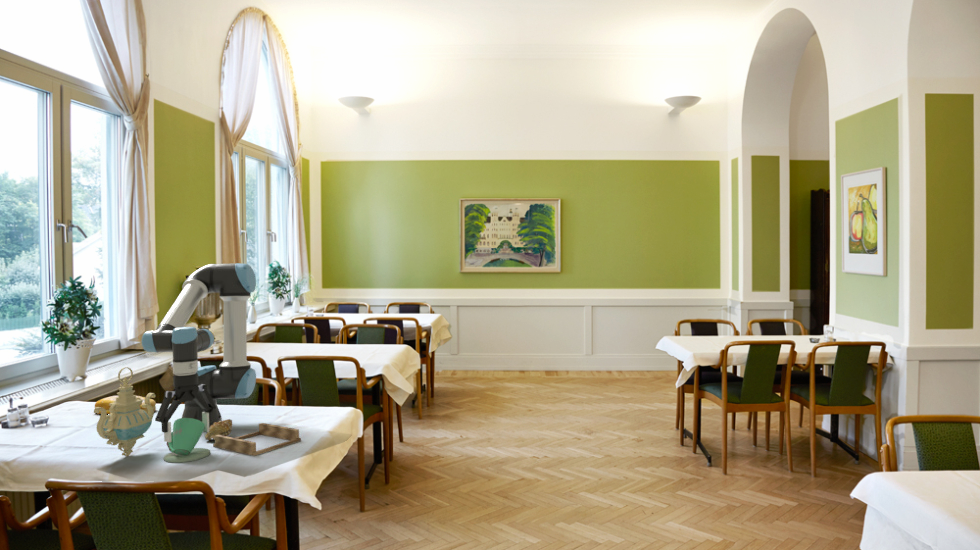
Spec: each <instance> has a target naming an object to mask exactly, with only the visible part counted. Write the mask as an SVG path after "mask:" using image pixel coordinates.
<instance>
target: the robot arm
mask: <svg viewBox="0 0 980 550" xmlns="http://www.w3.org/2000/svg"><path fill="white" fill-rule="evenodd" d="M254 271H255V270H253V268H252V266H251V265H250V264H248V263H239V262H238V263H237V262H236V263H209V264H206V265H203V266H201V267H199V268H198V269H196V270H195V271H193V272H192V273H190V275H188V276H187V278H186V279H185V280H184V282H183V284H182V286H181V288H182V290H181V291H180V292H179V293H178V294H179V295H178V296H177V298H176V299H175V300H174V302H173V304H172V305H171V306H170V308H169V309H168V311H167V313H166V314H165V316H164V317H163V318H162V320H161V321H160V323H159V325H158V326H157V327H156V329H155V330H154V329H152V330H147V331H145V332H144V333H143V334H142V336H141V347H142V349H143V350H144V351H145V352H148V353H172V374H173V376H172V379H173V380H172V383H173V384H172V385H173V391H172V390H171V391H170V390H165V391H164V394H163V399H162V402H161V405H160V406H159V409H158V411H157V414H156V416H155V422H158V423H161V432H162V433H164V434H163V441H164V442H166V443H167V442H171V433H172V422H171V421H170V420H171V418H172V416H173V415H174V414H175V412H176V411H177V409H178V408H179V406H180V405H181V404H182V403H184V409H183V412H182V414H181V418H193V419H197V420H199V421H201V422H203V423H204V424H205V428H204V431H203V432H206V433H208V432H209V429H210V426H211V425H213V424H214V423H215V422H219V421H223V417H222V415H221V412H220V410H219V407H218V404H217V403H218V402H217V401H218V400H220V399H222V400H223V399H236V400H239V399H247V398H249V397H250V396H251V395H252V393H253V391H254V389H255V386H256V383H257V372H256V370H255V369H254V368H252V367H251V364H252V363H251V362H250V361H248V360H247V353H248V352H247V347H248V346H247V345H248V344H247V330H248V329H247V328H248V327H247V301H248V300H249V299H250V298H251V294H252V293H253V292H255V291H256V287H257V280H256V279H257V278H256V274H255V272H254ZM212 293H213V294H214V293H216V294H217V293H219V296H218V297H219V298H220V299H221V301H222V302H223V361H222V362H221V363H220V364H219V365H218V366H219V367H218V369H217V366H216V365H205V366H200V367H199V363H198V359H199V357H198V356H199V355H198V353H199V352H204V351H206V350H208V349H209V348H211V347H212V346H213V344H214V341H215V338H214V337H215V336H214V334H213V332H212V331H210V330H209V329H206V328H198V329H197V328H196V327H195V326H186V324H187V323H188V322H189V319H190V318H191V316H192V315H193V314H194V312H195V310H196V308H197V307H198V305H199V304H200V301H201V300H202V299H205V298H207V296H208V294H209V295H210V294H212Z"/></svg>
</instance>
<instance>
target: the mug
mask: <svg viewBox="0 0 980 550" xmlns="http://www.w3.org/2000/svg"><path fill="white" fill-rule="evenodd" d="M172 428H173V429H172V431H171V442H166V446H167V448H168V450H169V452H170V453H171V452H174V453H176V454H178V455H189V454H190V453H191V451H192V450H193V448H196V445H197V444H198V443H199V441H200V438H201V436H202V434H203V432H205V431H204V428H205V424H204V423H203V422H201V421H199V420H197V419H193V418H182V417H180V418H177V419H175V420H174V422H173V425H172Z"/></svg>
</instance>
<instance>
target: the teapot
mask: <svg viewBox="0 0 980 550" xmlns="http://www.w3.org/2000/svg"><path fill="white" fill-rule="evenodd" d="M125 369H128V371H130V377H129V378H127V377H126V376H125V377H124V378H123V379H121V373H122V371H124V370H125ZM133 375H134V372H133V369H131V368H130V367H123V368H121V369H119V371H118V375H117V378H118V381H119V382H121V383H122V384H121V383H119V386H120V387H118V390H119V392H116V394H117V396H118V397H116V401H115V402H113V403H110V404H109V406H111V407H110V409H109V411H110V412H111V413H110V414H109V415H107V413H106V410H105V409H104V408H102V407H95V406H94V409H93V413H95V414H96V413H99V411H101V415H99V419H98V421H97V424H96V432H97V434H98V436H99V437H101V439H104V440H107V441H106V445H110V446H117V449H118V450H120V451H121V453H122V454H121V456H125V457H129V456H130V455H131V454H132V453H133V452H134V451H133V448H134V446H135V445H136V443H137V441H138V440H139V439H143V438H145V437H146V436H145V435H144V434H145V433H147V431H148V430H149V429H150V428H151V426H152V422H153V418H154V414H155V412H154V410H153V407H152V406H151V404H150V399H153V398H154V399H155V398H156V394H155V392H149V393H147V395H146V396H144V397H145V401H144V402H145V404H142V402H143V400H141V399H140V398H138V397H137V398H136V396H137V395H136V394H134V393H135V392H136V390H133V388H134V386H133V384H132V383H129V382H130V381H131V380H132V378H133ZM141 405H142V408H147V409H148V414H147V413H146V412H145V411H144V410H142V409H140V406H141Z"/></svg>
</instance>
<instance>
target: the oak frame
mask: <svg viewBox="0 0 980 550" xmlns="http://www.w3.org/2000/svg"><path fill="white" fill-rule="evenodd" d="M258 435H260V436H265V437H271V438H277V439H280V440H286V441H284V442H282V443H279V444H278V443H277V444H275V445H271V446H268V447H265V448H262V449H259V450H257V443H256V442H255V441H250V440H245V439H249V438H251V437H255V436H258ZM301 441H302V438H301V437H300V429H298V428H293V427H289V426H281V425H275V424H271V423H266V422H265V423H264V422H260V423H258V430H257V431H255V432H250V433H247V434H243V435H240V436H235V437H230V436H222V435H216V436H215V440H214V443H213V448H218V449H222V450H225V451H226V450H227V451H231V452H236V453H240V454H244V455H249V456H253V457H255V456H258V455H262V454H264V453H268V452H270V451H273V450H276V449H280V448H283V447H286V446H289V445H292V444H295V443H298V442H301Z"/></svg>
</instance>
